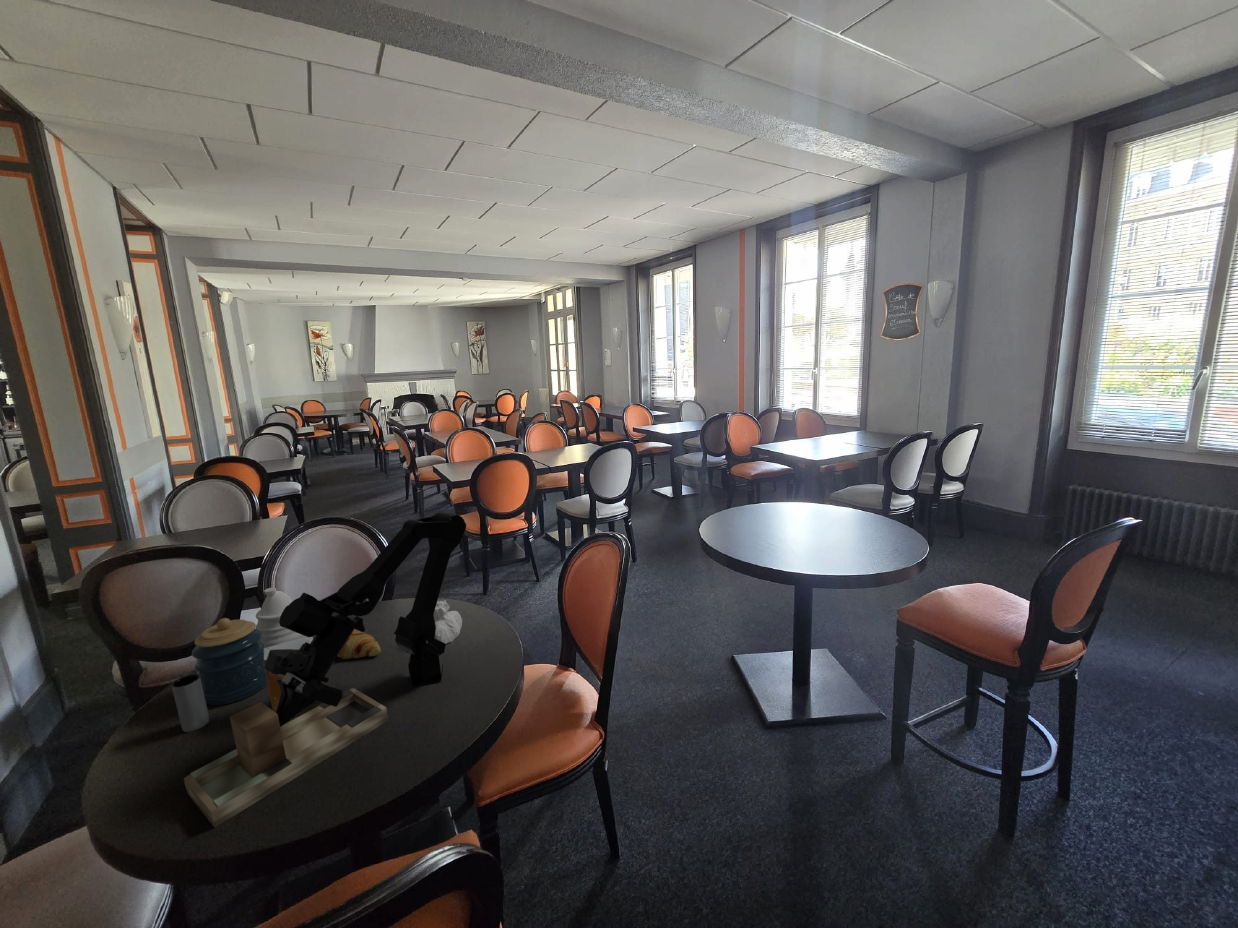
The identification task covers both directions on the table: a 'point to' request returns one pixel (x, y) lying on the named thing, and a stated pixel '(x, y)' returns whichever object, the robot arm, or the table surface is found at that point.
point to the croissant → (360, 646)
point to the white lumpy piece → (446, 623)
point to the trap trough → (306, 745)
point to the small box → (272, 678)
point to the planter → (190, 702)
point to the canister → (230, 661)
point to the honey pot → (275, 620)
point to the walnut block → (258, 738)
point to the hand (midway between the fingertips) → (274, 727)
